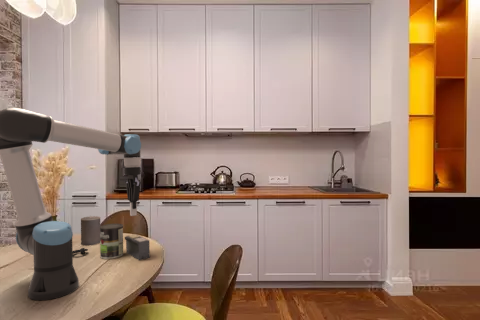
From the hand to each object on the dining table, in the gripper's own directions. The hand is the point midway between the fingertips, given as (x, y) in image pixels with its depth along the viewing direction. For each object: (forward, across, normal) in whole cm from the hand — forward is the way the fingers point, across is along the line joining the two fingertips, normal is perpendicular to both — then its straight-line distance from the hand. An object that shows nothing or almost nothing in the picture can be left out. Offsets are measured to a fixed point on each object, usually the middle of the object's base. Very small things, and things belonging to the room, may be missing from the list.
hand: (133, 215), depth 145 cm
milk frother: (+19, +20, +24) cm, 36 cm away
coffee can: (+19, +4, +9) cm, 21 cm away
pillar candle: (+19, +34, +10) cm, 40 cm away
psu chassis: (+18, -4, 0) cm, 19 cm away
